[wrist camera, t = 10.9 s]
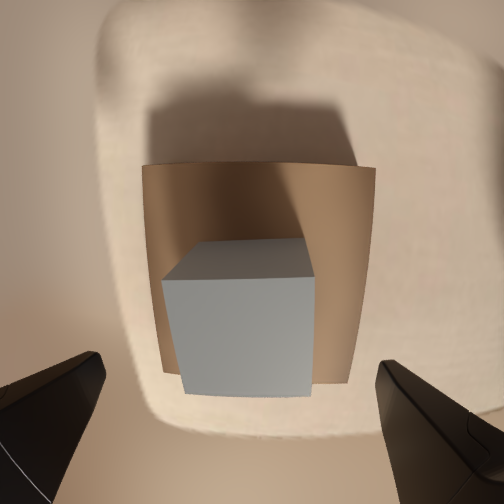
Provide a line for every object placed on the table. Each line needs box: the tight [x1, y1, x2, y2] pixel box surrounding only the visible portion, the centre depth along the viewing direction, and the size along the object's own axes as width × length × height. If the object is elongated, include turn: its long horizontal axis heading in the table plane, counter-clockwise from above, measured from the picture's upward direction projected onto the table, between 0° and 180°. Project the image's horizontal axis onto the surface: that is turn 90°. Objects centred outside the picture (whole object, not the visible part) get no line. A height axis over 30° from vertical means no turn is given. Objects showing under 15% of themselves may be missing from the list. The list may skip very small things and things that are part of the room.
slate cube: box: [161, 238, 315, 397], centre depth 13 cm, size 5×5×5 cm
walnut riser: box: [142, 162, 376, 384], centre depth 17 cm, size 11×12×4 cm
